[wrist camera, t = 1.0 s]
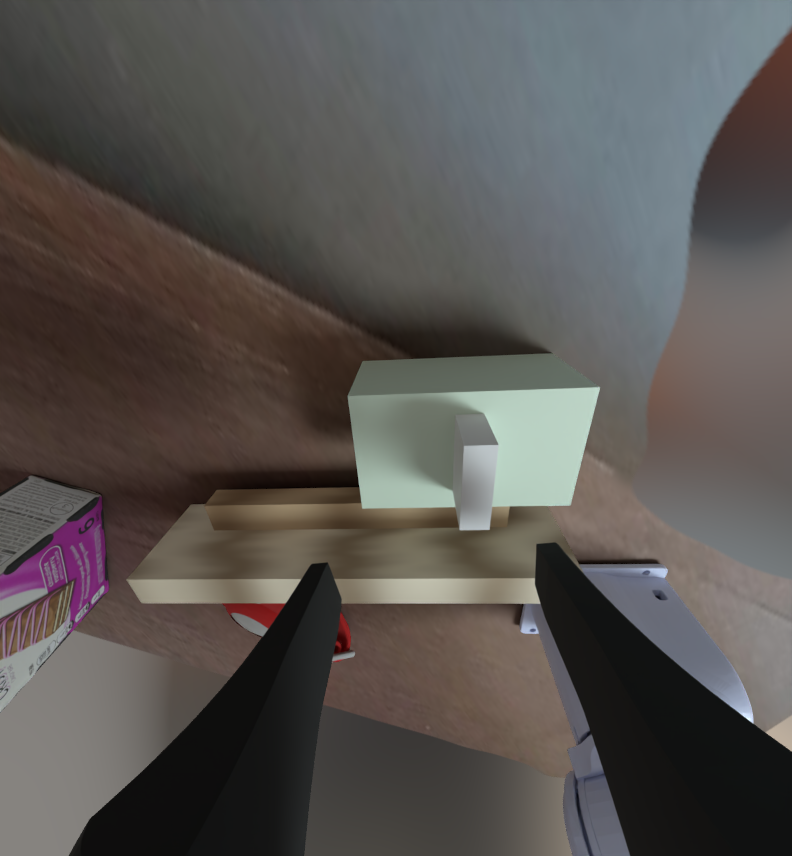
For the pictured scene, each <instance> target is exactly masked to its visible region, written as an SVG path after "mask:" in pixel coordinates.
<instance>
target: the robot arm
mask: <svg viewBox="0 0 792 856" xmlns="http://www.w3.org/2000/svg"><path fill="white" fill-rule="evenodd" d="M579 565H580V567H581V569H582V571H583V572H582V571H581V570H580V569H579V568H578V567H577V565H576V564H575V563H574V562H573V561H572V560H571V559H570V557H569V556H568V555H567V554H566V553H565V552H564V550H563V549H562V548H561V547H560V546H559V544H557V543H556V542H552V543H541V544H536V566H535V587H536V590H537V594H538V597H539V600H540V604H524V606H523V610H522V615H521V620H520V625H519V628H520V631H521V632H522V633H526V634H539V636H540V639H541V641H542V644H543V647H544V650H545V653H546V656H547V659H548V662H549V665H550V668H551V671H552V674H553V677H554V680H555V683H556V686H557V689H558V692H559V695H560V698H561V701H562V704H563V707H564V710H565V712H566V715H567V718H568V721H569V724H570V727H571V730H572V733H573V736H574V739H575V742H576V745H577V746H575V747H572V748H569V749H568V750H567V751H568V754H569V757H570V760H571V763H572V766H573V771H570V772H569V773H568V774H567V775H566V779H565V784H564V795H563V812H564V820H565V825H566V831H567V836H568V840H569V844H570V848H571V851H572V855H573V856H792V752H791V751H790V750H789V749H787V748H786V747H785V746H783V745H782V744H780V743H779V742H778V741H776V740H775V739H773V738H772V737H771V736H769V735H768V734H766V733H765V732H764V731H762V730H761V729H760V728H758V727H757V726H756V725H754V724H753V713H752V708H751V705H750V702H749V699H748V696H747V693H746V691H745V689H744V686H743V684H742V682H741V680H740V678H739V676H738V675H737V673H736V671H735V670H734V668H733V666H732V665H731V663H730V662H729V660H728V659H727V658H726V656H725V655H724V654H723V652H722V651H721V650H720V649H719V647H718V646H717V645H716V643H715V642H714V641H713V640H712V638H711V637H710V636H709V634H708V633H707V632H706V631H705V629H704V628H703V627H702V625H701V624H700V623H699V622H698V620H697V619H696V618H695V617H694V615H693V614H692V613H691V611H690V610H689V609H688V608H687V606H686V605H685V604H684V602H683V601H682V600H681V599H680V597H679V596H678V595H677V593H676V592H675V591H674V590H673V588H672V587H671V586H670V584H669V583H668V582H667V581H666V579H665V576H666V574H667V571H668V570H667V568H666V567H665V566H664V565H662V564H579ZM341 602H342V598H341V595H340V593H339V590H338V588H337V585H336V582H335V580H334V577H333V574H332V572H331V569H330V566H329V564H328V562H325V563H314V564H311V565H310V566H309V568H308V569H307V571H306V573H305V574H304V576H303V577H302V579H301V580H300V582H299V584H298V585H297V587H296V588H295V590H294V591H293V593H292V594H291V596H290V598H289V599H288V601H287V602H286V604H285V605H284V607H283V608H282V610H281V611H280V613H279V614H278V615H277V617H276V618H275V620H274V621H273V623H272V624H271V626H270V627H269V629H268V630H267V631H266V633H265V634H264V635H263V637H262V638H261V639H260V641H259V642H258V644H257V645H256V646H255V648H254V649H253V650H252V652H251V653H250V654H249V656H248V657H247V658H246V659H245V661H244V662H243V663H242V665H241V666H240V667H239V668H238V670H237V671H236V672H235V673H234V674H233V676H232V677H231V678H230V679H229V680H228V682H227V683H226V684H225V685H224V686H223V688H222V689H221V690H220V691H219V692H218V693H217V694H216V695H215V697H214V698H213V699H212V700H211V701H210V702H209V703H208V705H207V706H206V707H205V708H204V709H203V710H202V711H201V712H200V713H199V715H198V716H197V717H196V718H195V719H194V720H193V721H192V722H191V723H190V724H189V725H188V726H187V727H186V728H185V729H184V731H182V732H181V733H180V734H179V735H178V736H177V738H175V739H174V740H173V741H172V743H170V744H169V745H168V746H167V748H166V749H165V750H163V751H162V752H161V754H160V755H159V756H157V758H156V759H155V760H153V761H152V762H151V763H150V764H149V765H148V766H147V767H146V768H145V769H144V770H143V771H142V772H141V773H140V774H139V775H138V776H137V777H136V778H135V779H133V780H132V781H131V782H130V783H129V784H128V785H127V786H126V787H125V788H123V789H122V790H121V791H120V792H119V793H118V794H117V795H116V796H115V797H114V798H113V799H111V800H110V801H109V802H108V803H107V804H106V805H105V806H104V807H103V808H102V809H100V810H99V811H98V812H97V813H96V814H95V815H94V816H92V817H91V819H90V820H89V821H88V823H87V825H86V826H85V828H84V830H83V832H82V833H81V835H80V837H79V838H78V840H77V842H76V844H75V846H74V847H73V849H72V851H71V853H70V854H69V856H304V851H305V840H306V831H307V821H308V811H309V800H310V792H311V784H312V775H313V767H314V759H315V751H316V744H317V736H318V729H319V722H320V716H321V711H322V705H323V701H324V696H325V691H326V687H327V682H328V678H329V673H330V668H331V664H332V659H333V654H334V650H335V645H336V640H337V635H338V630H339V622H340V613H341Z"/></svg>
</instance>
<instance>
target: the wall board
mask: <svg viewBox="0 0 792 856" xmlns="http://www.w3.org/2000/svg"><path fill="white" fill-rule="evenodd" d="M552 542H556V543H557V544H559V546H560V547H561V548H562V549H563V550H564V552H565V553H566V554H567V555H568V556H569V557H570V559H571V560H572V561H573V562H574V563H575V564H576V565H577V567H578V568H579V569H580V570H581V571H582V569H581V567H580V565H579V563H578V561H577V560H576V558H575V556H574V554H573V552H572V550H571V549H570V547H569V545H568V543H567V541H566V539H565V537H564V536H563V534H562V532H561V530H560V528H559V526H558V525H557V523H556V521H555V519H554V517H553V515H552V513H551V512H550V510H549V508H548V506H500V507H492V512H491V521H490V530H459V524H458V519H457V513H456V508H455V507H433V508H367V509H362V503H361V495H360V487H345V488H291V489H238V490H216V491H215V493H214V494H213V495H212V496H211V498H210V499H209V500H208V501H207V503H206V504H191V505H190V506H189V507H188V509H187V510H186V511H185V512H184V513H183V514H182V516H181V517H180V518H179V519H178V520H177V521H176V523H175V524H174V525H173V526H172V527H171V528H170V530H169V531H168V532H167V533H166V534H165V535H164V537H163V538H162V539H161V540H160V541H159V542H158V543H157V545H156V546H155V547H154V548H153V549H152V550H151V552H150V553H149V554H148V555H147V556H146V557H145V559H144V560H143V561H142V562H141V563H140V564H139V566H138V567H137V568H136V569H135V570H134V571H133V573H132V574H131V575H130V576H129V577H128V578H127V579H126V580H127V581H128V583H129V584H130V586H131V588H132V589H133V591H134V592H135V594H136V595H137V597H138V598H139V600H140V601H141V603H286V602H287V601H288V599H289V598H290V596H291V594H292V593H293V591H294V590H295V588H296V587H297V585H298V584H299V582H300V580H301V579H302V577H303V576H304V574H305V573H306V571H307V569H308V568H309V566H310V565H311V564H314V563H325V562H328V564H329V566H330V569H331V572H332V574H333V577H334V580H335V582H336V585H337V588H338V590H339V593H340V595H341V598H342V602H341V603H420V604H540V600H539V597H538V594H537V590H536V587H535V566H536V544H541V543H552ZM582 572H583V571H582Z"/></svg>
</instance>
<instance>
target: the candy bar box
mask: <svg viewBox="0 0 792 856" xmlns="http://www.w3.org/2000/svg"><path fill="white" fill-rule="evenodd" d="M108 590H109V584H108V572H107V561H106V547H105V536H104V522H103V507H102V496H101V495H100V494H98V493H95V492H92V491H89V490H86V489H82V488H77V487H73V486H70V485H65V484H62V483H58V482H55V481H52V480H48V479H45V478H41V477H37V476H33V475H31V476H28V477H27V478H25V479H23V480H22V481H20V482H18V483H17V484H15V485H14V486H12V487H10V488H9V489H7V490H5V491H3V492H2V493H0V712H1V711H2V710H3V709H4V708H5V707H6V706H7V704H8V703H9V702H10V701H11V700H12V699H13V698H14V697H15V696H16V694H17V693H18V692H19V691H20V690H21V689H22V688H23V687H24V686H25V685H26V683H27V682H28V681H29V680H30V679H31V678H32V677H33V676H34V674H35V673H36V672H37V671H38V670H39V668H40V667H41V666H42V665H43V664H44V663H45V661H46V660H47V659H48V658H49V657H50V656H51V654H52V653H53V652H54V651H55V650H56V649H57V648H58V647H59V646H60V644H61V643H62V642H63V641H64V640H65V639H66V638H67V636H68V635H69V634H70V633H71V632H72V631H73V630H74V629H75V627H76V626H77V625H78V624H79V623H80V622H81V621H82V619H83V618H84V617H85V616H86V615H87V614H88V613H89V612H90V610H91V609H92V608H93V607H94V606H95V605H96V604H97V603H98V601H99V600H100V599H101V598H102V597H103V596H104V595H105V594H106V593H107V592H108Z"/></svg>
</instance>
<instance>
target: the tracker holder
mask: <svg viewBox="0 0 792 856" xmlns="http://www.w3.org/2000/svg"><path fill="white" fill-rule="evenodd" d="M222 604H223V605H224V606H225V607H226V610H227V612H228V613H229V615H230V616H231V618H232V619H233V620H234V621H235V622H236V623H237V624H239V625H240V626H241V627H243V628H244V629H246V630H248V631H249V632H251V633H253V634H255V635H257V636H260V637H263V635H264V634H265V633H266V631H267V630H268V629H269V627H270V626H271V624H272V623H273V621H274V620H275V618H276V617H277V615H278V614H279V613H280V611H281V610H282V608H283V607H284V605H285V604H286V603H222ZM350 642H351V636H350V630H349V627H348V624H347V622H346V620H345V618H344V617H343V615H342V613H340V622H339V630H338V635H337V640H336V645H335V650H334V654H333V659H332V662H339V661H341V660H343V659H345V658H349V657H353V656H354V655H355V651H353V650H350Z"/></svg>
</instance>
